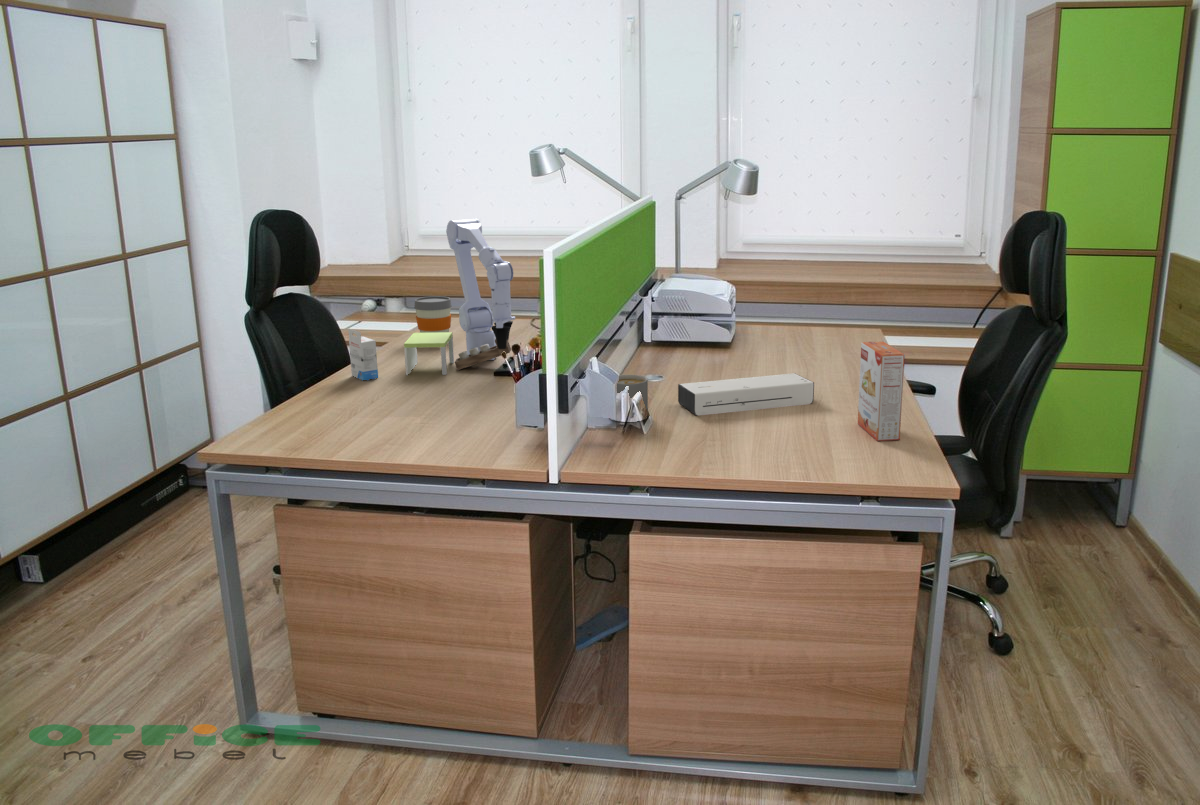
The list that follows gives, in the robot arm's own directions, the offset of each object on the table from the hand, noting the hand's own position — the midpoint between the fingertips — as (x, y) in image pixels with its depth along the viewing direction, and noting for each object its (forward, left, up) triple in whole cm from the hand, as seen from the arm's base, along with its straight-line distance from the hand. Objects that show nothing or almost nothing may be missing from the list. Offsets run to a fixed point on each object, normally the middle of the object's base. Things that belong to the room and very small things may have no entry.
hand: (503, 346), depth 310 cm
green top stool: (+23, 0, -7) cm, 24 cm away
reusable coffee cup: (+28, -39, -7) cm, 48 cm away
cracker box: (-96, +71, -7) cm, 120 cm away
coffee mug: (-35, +56, -7) cm, 67 cm away
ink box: (+41, +10, -7) cm, 42 cm away
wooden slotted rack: (+6, 0, -4) cm, 7 cm away
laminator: (-68, +44, -7) cm, 81 cm away
